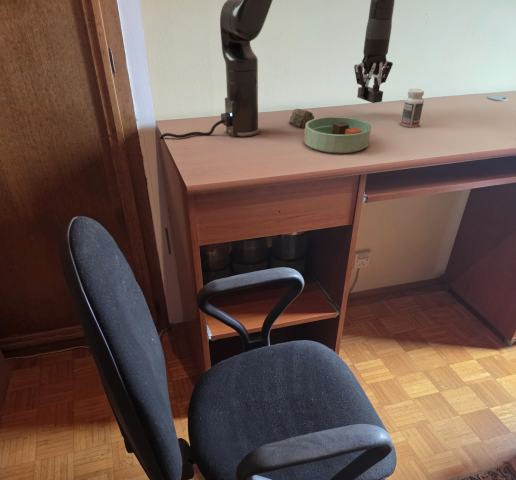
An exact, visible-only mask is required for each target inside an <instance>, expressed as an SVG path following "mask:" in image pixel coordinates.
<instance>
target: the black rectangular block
mask: <svg viewBox="0 0 516 480" xmlns="http://www.w3.org/2000/svg"><path fill="white" fill-rule="evenodd" d="M368 87H369V88H368V94H367V99H366V100H364V99H362V98H361V89H362V86H359V87H357V95H356V97H357V98H358V99H360V100H363V101H366V102H369V103H371V104H376V103H377V104H378V103H382V102H383V95H384V91H383V90H380V89H379V90H377V89H374V88H373V87H371V86H368Z"/></svg>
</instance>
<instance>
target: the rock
mask: <svg viewBox="0 0 516 480" xmlns="http://www.w3.org/2000/svg"><path fill="white" fill-rule="evenodd" d="M312 119H315V116H314V114H313V113H312V112H311V111H310V110H305V109H301V108H295V109H293V110H292V112H291V115H290V117H289V124H292V125H294V126H295V127H298V128H300V129H305V124H306V123H307V122H308V121H310V120H312Z"/></svg>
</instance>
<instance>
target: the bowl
mask: <svg viewBox="0 0 516 480" xmlns="http://www.w3.org/2000/svg"><path fill="white" fill-rule="evenodd" d="M340 122H344V123H346V124H348V125H349V129H351V128H357V129H359V130H361V131H363V132H361V133H356V134H347V135H336V134H332V130H333V123H340ZM371 133H372V125H371V124H370V123H368V122H367V121H364V120H363V119H359V118H353V117H347V116H346V117H345V116H322V117H317V118H314V119H312V120H310V121H308V122H307V123H306V124H305V126H304V139H303V140H304V141H303V142H304V144H305V145H306V146H308V147H310V148H311V149H314V150H316V151H319V152H323V153H328V154H350V153H356V152H359V151H362V150H363V149H366V148H367V147H368V146H369V144H370V140H371Z"/></svg>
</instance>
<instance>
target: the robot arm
mask: <svg viewBox="0 0 516 480" xmlns="http://www.w3.org/2000/svg"><path fill="white" fill-rule="evenodd" d="M395 1H396V0H370V4H369V11H368V19H367V23H366V28H365V36H364V43H363V53H362V54H363V58H362V59H361V62H360V63H358V64H354V67H353V69H354V73H355V80H356V84H357V85H359V86H360V87H362V89H361V98H362V99H361V98H360V99H361V100H363V99H364V100H363V101H366V99H367V94H368V88H369V87H370V86H369V85H370V82H371V80H372V79H373V84H372V88H374V89H377V90H380V87H381V86H382V84H383V83H384V84H385V83H386V81H387V80H388V77H389V75H390V73H391V70H392V68H393V66H394V63H393V62H392V61H388V60H387V55H388V54H389V48H390V47H389V46H390V41H391V35H392V34H391V33H392V27H393V26H392V25H393V16H394V10H395V3H396V2H395ZM272 3H273V0H226V1H225V2H224V3H223V5H222V7H221V10H220V15H219V28H220V42H221V52H222V57H223V60H224V62H225V78H226V97H224V110H225V112H223V113H220V120H219V121H217V122H216V123H214V124H213V125H212V126H211V129H210V130H209V131H208V132H203V131H202V132H201V131H191V132H187V133H182V134H175V133H171V132H165V133H163V134H161V135H160V136H159V137H158V140H163V139H164V138H165V137H171V138H177V139H182V138H187V137H191V136H211V135H212V134H213V133H214V131H215V129H216V128H217V127H218V126H219V125H222V126H224V127H225V131H226V132H227V133H228V134H229V135H230V136H232V137H234V138H235V137H253V136H255V135H257V134H259V59H258V57H257V55H256V54H255V52H254V51H253V49H252V46H251V42H252V41H254V40H255V39H257V37H258V36H259V35H260V34H261V32H262V30H263V27H264V25H265V22H266V20H267V17H268V14H269V12H270V9H271V6H272ZM164 230H165V238H166V243H167V253H168V255H172V249H171V241H170V236H169V235H170V234H169V230H168V227H164Z"/></svg>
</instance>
